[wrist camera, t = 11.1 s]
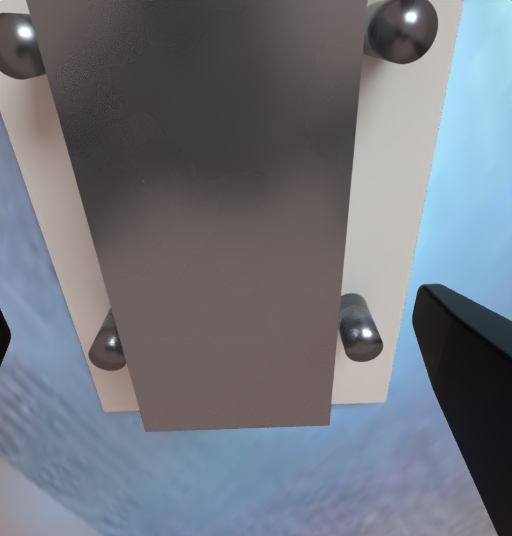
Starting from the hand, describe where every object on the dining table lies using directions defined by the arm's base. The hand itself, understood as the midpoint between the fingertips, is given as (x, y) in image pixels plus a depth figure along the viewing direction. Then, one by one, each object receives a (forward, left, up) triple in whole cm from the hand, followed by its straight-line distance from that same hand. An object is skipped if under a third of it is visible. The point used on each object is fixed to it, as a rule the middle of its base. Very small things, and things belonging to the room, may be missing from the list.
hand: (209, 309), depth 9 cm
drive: (0, 0, -7) cm, 7 cm away
